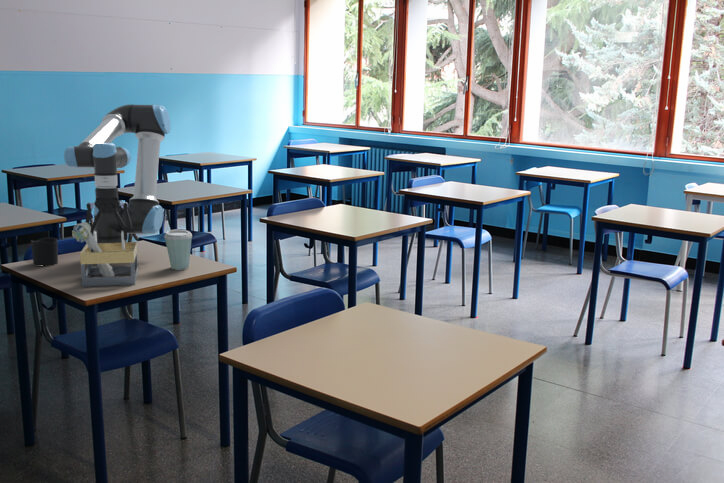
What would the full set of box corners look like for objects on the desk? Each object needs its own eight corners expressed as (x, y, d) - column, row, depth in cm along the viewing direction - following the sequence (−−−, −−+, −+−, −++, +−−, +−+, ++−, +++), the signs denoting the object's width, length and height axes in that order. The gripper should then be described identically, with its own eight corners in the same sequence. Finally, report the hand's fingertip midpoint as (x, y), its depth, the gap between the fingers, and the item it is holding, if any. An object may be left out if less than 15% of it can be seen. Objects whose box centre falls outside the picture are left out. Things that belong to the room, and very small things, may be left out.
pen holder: (59, 266, 262) (57, 241, 260) (32, 268, 258) (31, 242, 256) (58, 261, 271) (56, 237, 269) (32, 263, 266) (30, 238, 264)
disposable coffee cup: (199, 268, 263) (198, 231, 260) (178, 273, 254) (176, 234, 251) (180, 264, 269) (179, 228, 266) (159, 269, 260) (157, 231, 257)
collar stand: (88, 275, 249) (86, 243, 247) (137, 273, 253) (136, 242, 251) (82, 286, 232) (80, 253, 230) (135, 284, 237) (133, 251, 235)
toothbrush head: (118, 273, 244) (90, 216, 230) (110, 284, 238) (81, 227, 224) (106, 273, 245) (77, 217, 231) (97, 285, 240) (67, 228, 226)
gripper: (72, 188, 230) (76, 252, 234) (137, 187, 236) (140, 250, 240) (75, 186, 237) (79, 248, 242) (138, 185, 243) (141, 246, 247)
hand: (109, 249), depth 241 cm, fingers open, 9 cm apart
